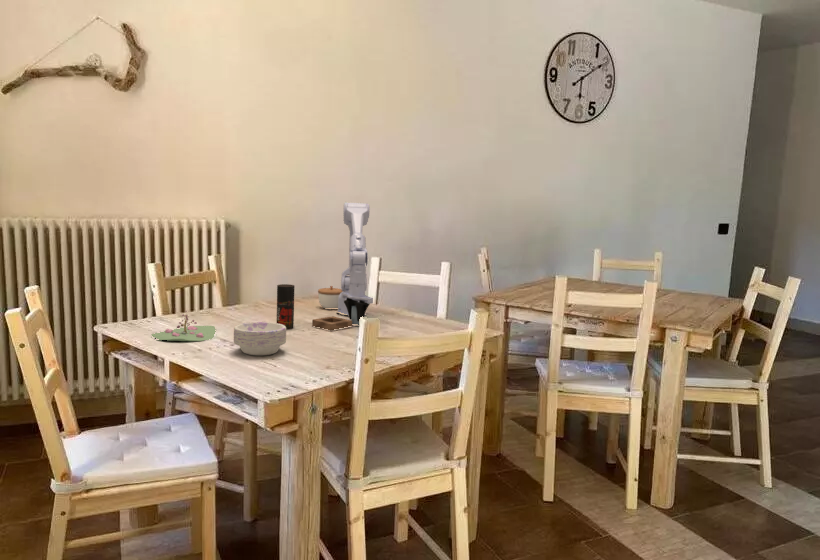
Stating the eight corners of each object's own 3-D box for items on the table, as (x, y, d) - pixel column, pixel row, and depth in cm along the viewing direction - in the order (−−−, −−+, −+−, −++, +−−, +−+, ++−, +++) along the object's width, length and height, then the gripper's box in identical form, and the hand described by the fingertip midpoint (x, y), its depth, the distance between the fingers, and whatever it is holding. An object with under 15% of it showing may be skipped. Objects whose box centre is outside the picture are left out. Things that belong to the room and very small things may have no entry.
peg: (348, 325, 232) (349, 306, 231) (355, 323, 234) (356, 305, 233) (355, 326, 229) (356, 307, 228) (362, 325, 232) (363, 306, 231)
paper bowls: (264, 343, 200) (264, 318, 198) (296, 352, 190) (296, 327, 189) (222, 351, 188) (223, 325, 187) (254, 361, 178) (255, 334, 177)
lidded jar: (319, 311, 254) (319, 288, 253) (316, 306, 265) (316, 283, 263) (345, 311, 257) (346, 288, 256) (341, 306, 267) (342, 284, 266)
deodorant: (272, 328, 221) (273, 285, 219) (283, 325, 226) (284, 283, 224) (286, 330, 218) (287, 287, 216) (297, 327, 223) (298, 285, 221)
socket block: (312, 326, 226) (312, 319, 226) (332, 322, 234) (333, 316, 233) (331, 331, 220) (331, 324, 220) (351, 327, 227) (352, 320, 227)
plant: (171, 325, 219) (171, 299, 218) (230, 328, 220) (231, 302, 218) (140, 342, 195) (140, 314, 193) (208, 346, 195) (208, 317, 194)
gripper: (335, 281, 231) (334, 318, 233) (363, 287, 222) (362, 324, 224) (349, 280, 237) (348, 315, 238) (377, 285, 227) (376, 322, 229)
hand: (356, 320), depth 231 cm, fingers closed on peg, 4 cm apart
